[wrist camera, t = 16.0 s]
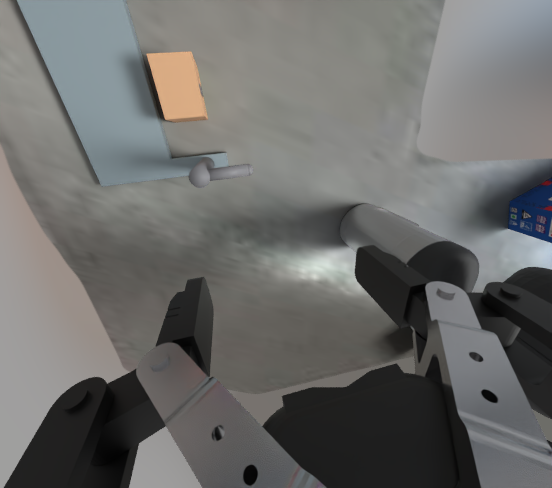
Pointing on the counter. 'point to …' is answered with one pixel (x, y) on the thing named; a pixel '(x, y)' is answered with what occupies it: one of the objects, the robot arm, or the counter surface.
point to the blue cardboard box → (533, 212)
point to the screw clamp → (112, 93)
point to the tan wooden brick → (178, 86)
